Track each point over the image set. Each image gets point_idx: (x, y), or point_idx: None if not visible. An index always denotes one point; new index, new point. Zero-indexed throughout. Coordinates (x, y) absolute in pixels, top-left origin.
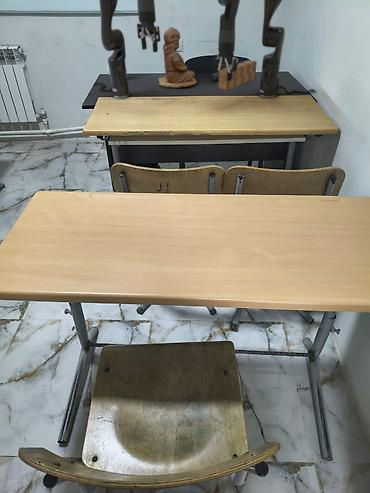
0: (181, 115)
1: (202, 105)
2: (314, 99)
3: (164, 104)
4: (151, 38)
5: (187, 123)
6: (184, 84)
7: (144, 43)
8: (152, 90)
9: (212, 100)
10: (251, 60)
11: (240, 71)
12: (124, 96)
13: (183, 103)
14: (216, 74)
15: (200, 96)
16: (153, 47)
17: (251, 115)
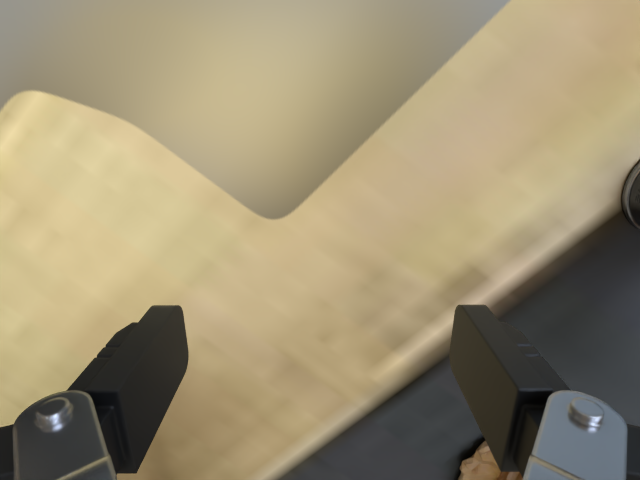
0: (190, 232)
1: (233, 371)
2: None
3: (372, 268)
4: (74, 474)
5: (82, 185)
6: (479, 469)
7: (487, 394)
8: (579, 349)
9: (254, 431)
10: None
11: None
12: (632, 182)
13: (315, 334)
14: None
15: (331, 431)
16: (126, 342)
17: (14, 418)
